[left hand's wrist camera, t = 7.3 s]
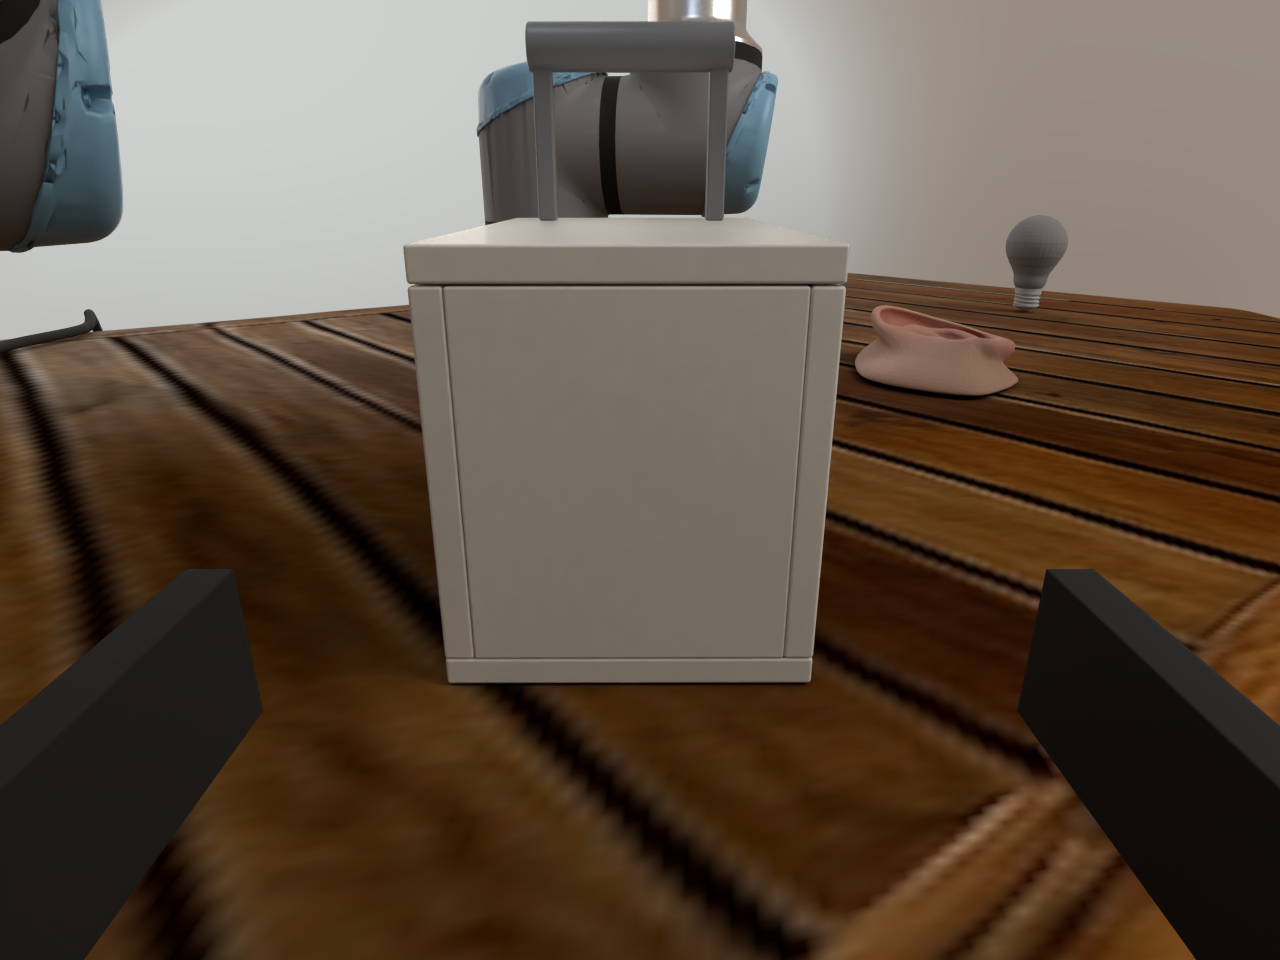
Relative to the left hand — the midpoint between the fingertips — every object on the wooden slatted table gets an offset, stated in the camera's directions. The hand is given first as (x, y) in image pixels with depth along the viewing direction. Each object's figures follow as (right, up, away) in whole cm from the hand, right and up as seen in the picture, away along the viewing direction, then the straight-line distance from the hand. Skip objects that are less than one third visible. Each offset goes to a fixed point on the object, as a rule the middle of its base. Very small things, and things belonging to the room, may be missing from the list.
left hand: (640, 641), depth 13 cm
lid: (0, +10, +13) cm, 17 cm away
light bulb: (+43, +22, +74) cm, 88 cm away
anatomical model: (+21, +10, +44) cm, 50 cm away
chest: (0, 0, +17) cm, 17 cm away
